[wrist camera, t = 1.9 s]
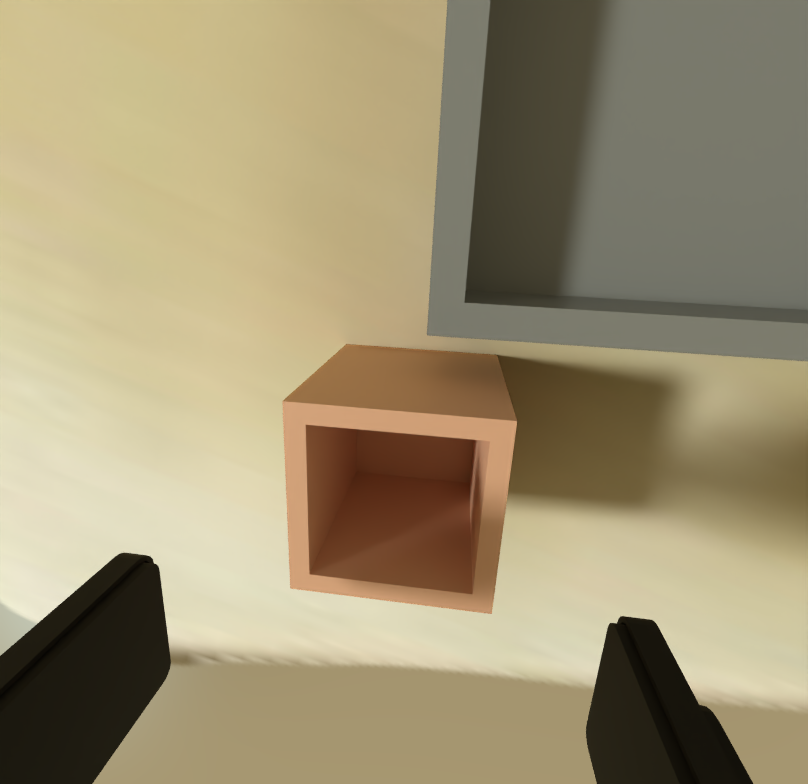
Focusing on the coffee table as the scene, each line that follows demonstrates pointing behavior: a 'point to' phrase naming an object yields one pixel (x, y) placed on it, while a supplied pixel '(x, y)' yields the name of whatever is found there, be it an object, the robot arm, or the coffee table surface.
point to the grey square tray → (624, 175)
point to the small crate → (399, 476)
